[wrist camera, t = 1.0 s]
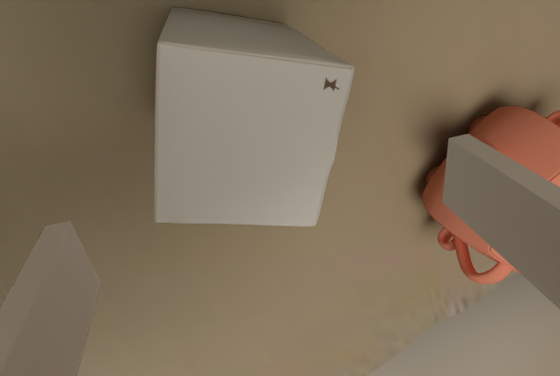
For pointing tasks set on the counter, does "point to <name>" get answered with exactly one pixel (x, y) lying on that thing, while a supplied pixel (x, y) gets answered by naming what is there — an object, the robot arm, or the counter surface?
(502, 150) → the teapot
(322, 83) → the supplement box
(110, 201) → the counter surface
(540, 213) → the robot arm
